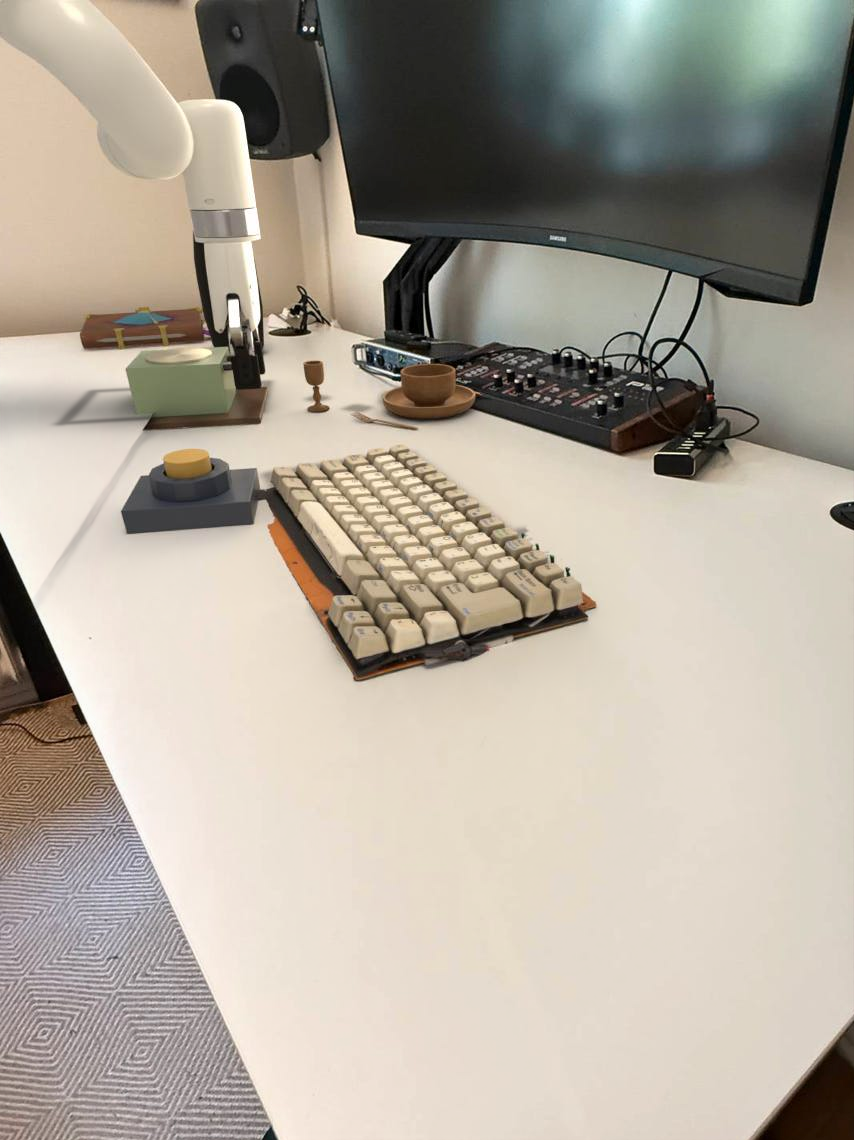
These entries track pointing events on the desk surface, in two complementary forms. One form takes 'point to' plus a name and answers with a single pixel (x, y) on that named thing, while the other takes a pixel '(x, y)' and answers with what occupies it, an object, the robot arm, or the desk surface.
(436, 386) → the place setting
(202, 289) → the portable speaker
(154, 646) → the desk surface
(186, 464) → the bell button
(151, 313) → the book
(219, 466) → the grey mounting base
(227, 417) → the brown wooden board
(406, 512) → the mechanical keyboard
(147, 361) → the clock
